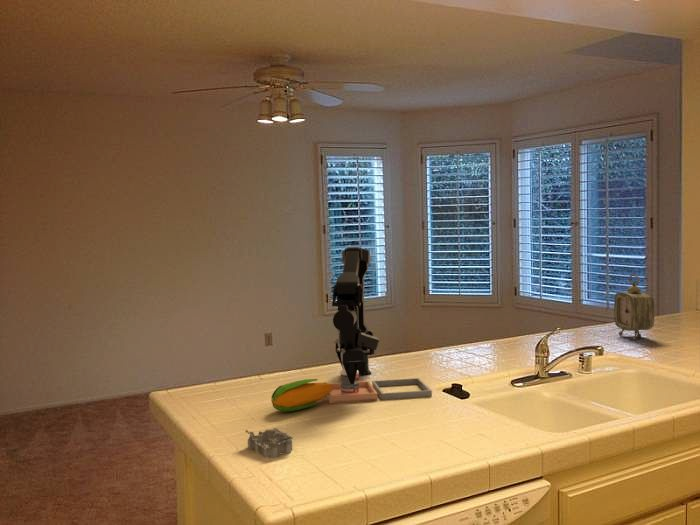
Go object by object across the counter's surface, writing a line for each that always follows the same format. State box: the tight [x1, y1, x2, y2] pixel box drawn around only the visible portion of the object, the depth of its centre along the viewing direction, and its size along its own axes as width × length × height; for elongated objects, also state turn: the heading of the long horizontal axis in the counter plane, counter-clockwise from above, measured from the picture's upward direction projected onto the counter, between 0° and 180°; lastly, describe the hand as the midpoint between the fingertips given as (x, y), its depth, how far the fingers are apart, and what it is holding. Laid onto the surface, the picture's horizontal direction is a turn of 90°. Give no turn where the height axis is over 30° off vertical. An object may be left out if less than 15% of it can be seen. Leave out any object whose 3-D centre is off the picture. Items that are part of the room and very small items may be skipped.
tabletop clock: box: [613, 274, 656, 341], centre depth 255 cm, size 14×9×25 cm, turn 6°
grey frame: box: [371, 377, 433, 400], centre depth 188 cm, size 14×14×2 cm
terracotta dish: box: [325, 380, 378, 405], centre depth 184 cm, size 13×13×2 cm
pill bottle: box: [339, 364, 360, 395], centre depth 184 cm, size 5×5×9 cm
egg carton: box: [245, 427, 294, 459], centre depth 144 cm, size 11×8×4 cm
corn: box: [270, 378, 333, 413], centre depth 174 cm, size 7×8×20 cm
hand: (349, 379), depth 184 cm, fingers open, 9 cm apart
